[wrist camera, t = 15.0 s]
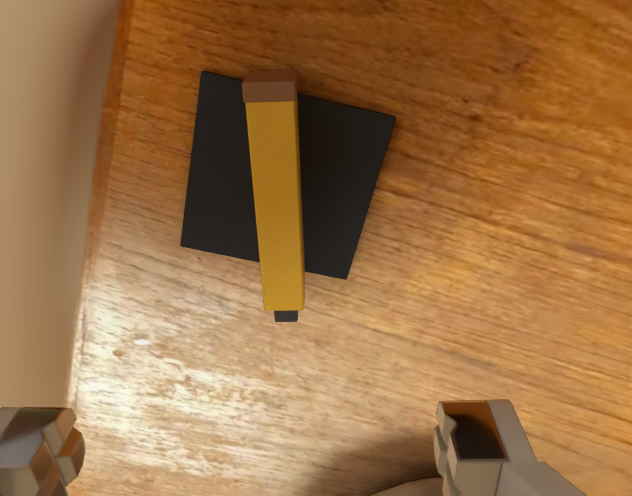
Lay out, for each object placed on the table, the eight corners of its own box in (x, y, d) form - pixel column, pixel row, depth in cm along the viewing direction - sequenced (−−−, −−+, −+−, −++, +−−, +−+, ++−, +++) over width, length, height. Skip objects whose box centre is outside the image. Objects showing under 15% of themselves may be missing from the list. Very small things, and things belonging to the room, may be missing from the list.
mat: (202, 69, 23) (201, 71, 23) (395, 116, 24) (396, 118, 24) (181, 243, 27) (180, 246, 27) (346, 276, 28) (346, 280, 28)
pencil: (249, 70, 23) (241, 82, 20) (297, 69, 22) (294, 80, 20) (269, 302, 28) (264, 332, 26) (307, 301, 28) (306, 331, 26)
